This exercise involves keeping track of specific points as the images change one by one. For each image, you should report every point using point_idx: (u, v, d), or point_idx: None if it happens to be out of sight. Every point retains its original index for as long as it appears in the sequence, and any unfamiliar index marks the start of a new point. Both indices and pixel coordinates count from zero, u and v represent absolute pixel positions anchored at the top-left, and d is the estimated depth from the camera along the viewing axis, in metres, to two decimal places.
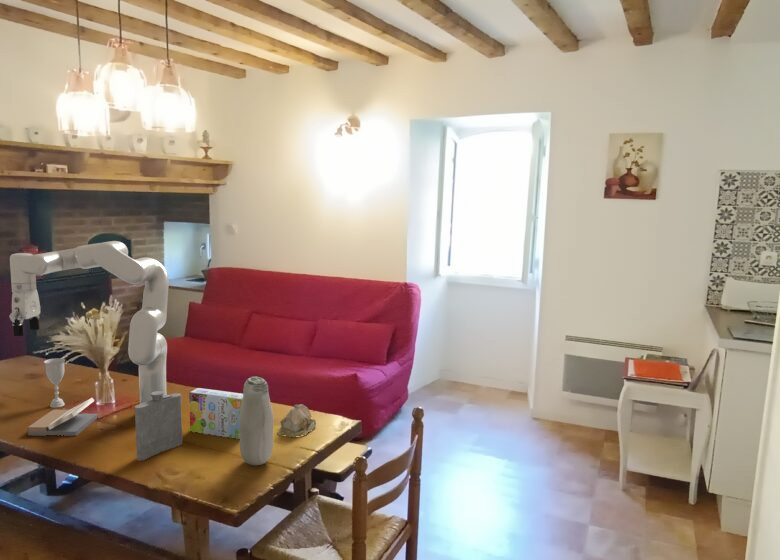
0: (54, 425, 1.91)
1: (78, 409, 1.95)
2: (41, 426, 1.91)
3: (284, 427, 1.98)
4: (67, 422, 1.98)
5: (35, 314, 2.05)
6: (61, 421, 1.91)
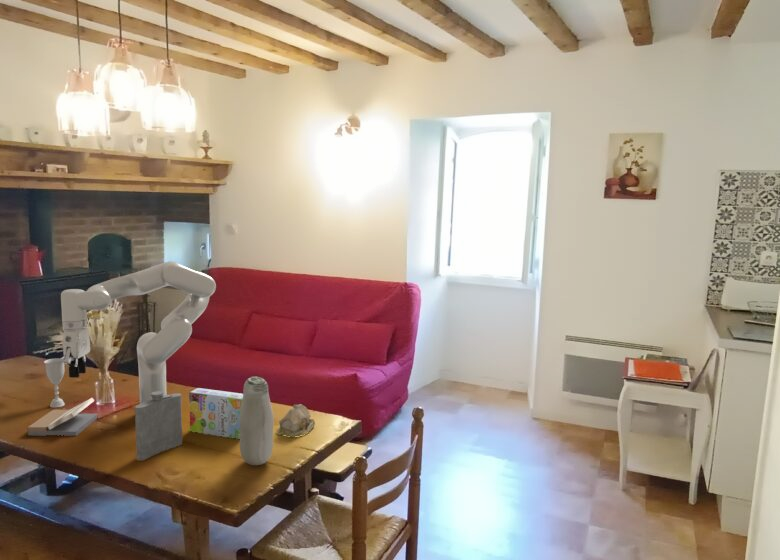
0: (54, 425, 1.91)
1: (78, 409, 1.95)
2: (41, 426, 1.91)
3: (283, 427, 1.98)
4: (67, 422, 1.98)
5: (86, 352, 1.96)
6: (61, 421, 1.91)
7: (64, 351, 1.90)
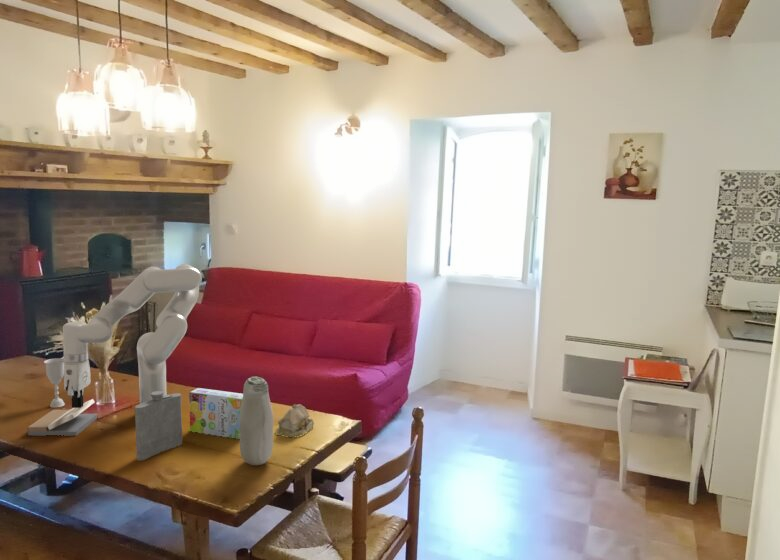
0: (54, 425, 1.91)
1: (79, 410, 1.95)
2: (41, 426, 1.91)
3: (282, 427, 1.98)
4: (67, 422, 1.98)
5: (86, 384, 1.98)
6: (61, 422, 1.91)
7: (65, 384, 1.91)
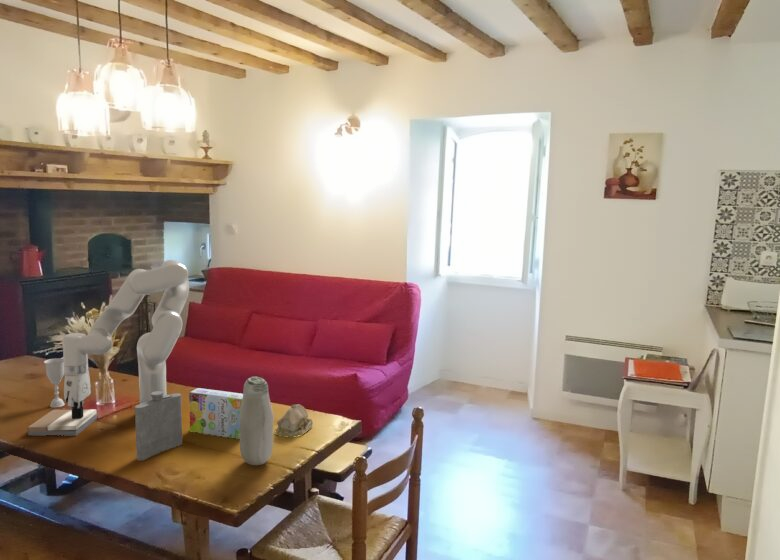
0: (54, 428, 1.91)
1: (82, 422, 1.95)
2: (41, 426, 1.91)
3: (281, 427, 1.97)
4: None
5: (86, 395, 1.98)
6: (62, 428, 1.91)
7: (65, 395, 1.92)
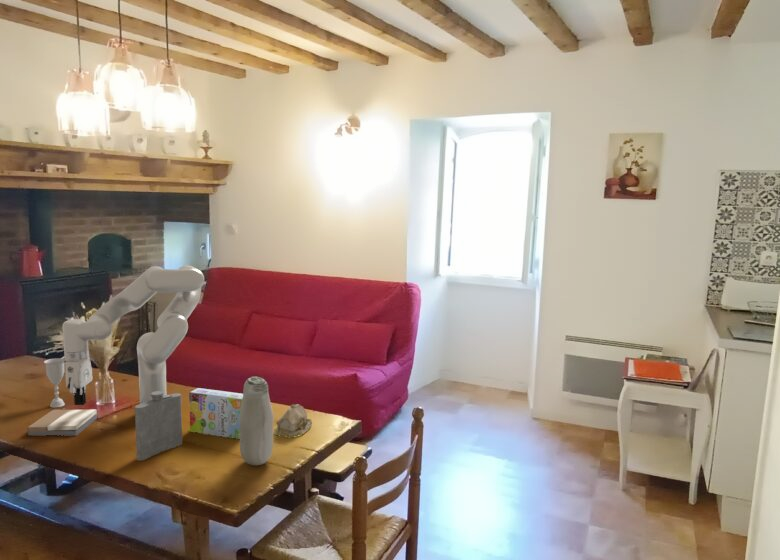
0: (54, 428, 1.91)
1: (82, 422, 1.95)
2: (41, 426, 1.91)
3: (281, 427, 1.97)
4: None
5: (88, 381, 1.98)
6: (62, 428, 1.91)
7: (66, 381, 1.91)
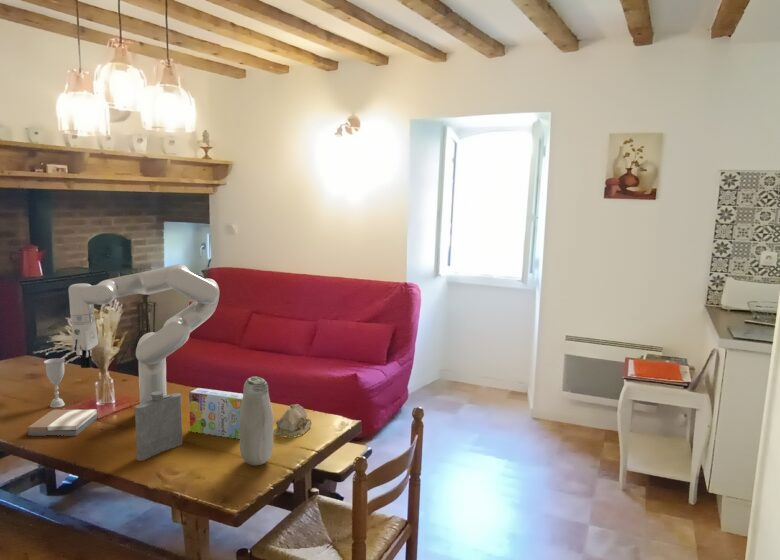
0: (54, 428, 1.91)
1: (82, 422, 1.95)
2: (41, 426, 1.91)
3: (281, 427, 1.97)
4: None
5: (94, 345, 2.02)
6: (62, 428, 1.91)
7: (73, 344, 1.95)
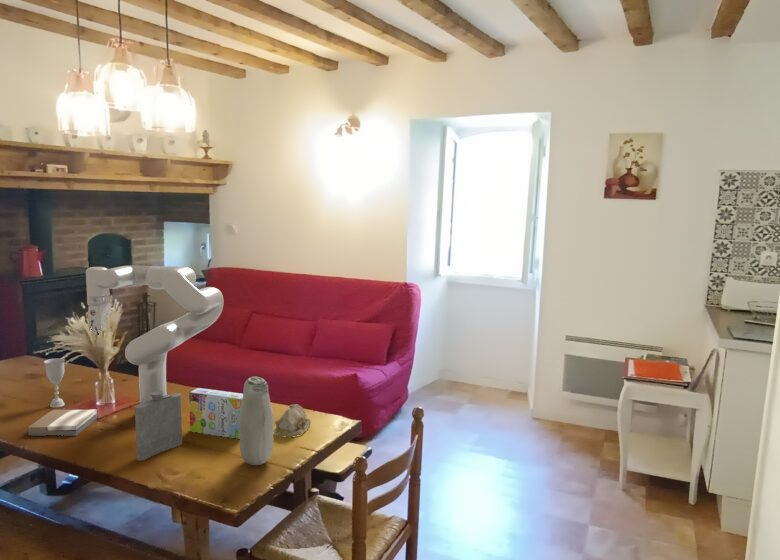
0: (54, 428, 1.91)
1: (82, 422, 1.95)
2: (41, 426, 1.91)
3: (280, 427, 1.97)
4: None
5: None
6: (62, 428, 1.91)
7: (89, 324, 2.04)
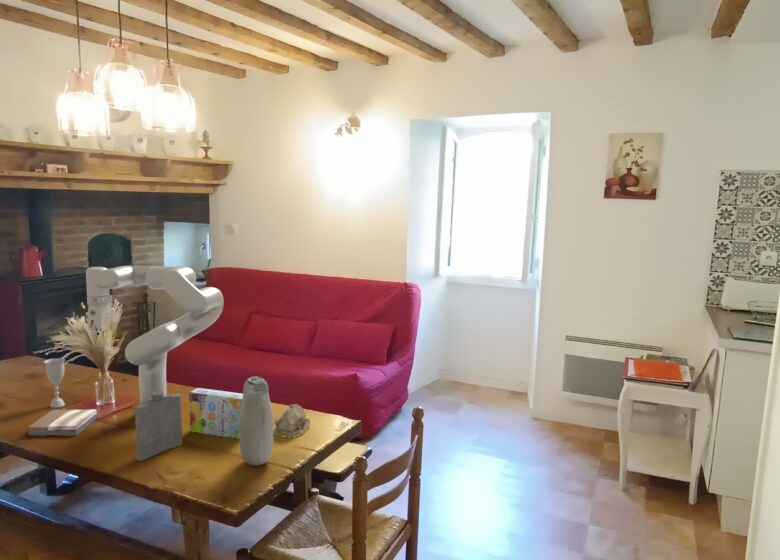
0: (54, 428, 1.91)
1: (82, 422, 1.95)
2: (41, 426, 1.91)
3: (280, 428, 1.97)
4: None
5: None
6: (62, 428, 1.91)
7: (89, 324, 2.04)
